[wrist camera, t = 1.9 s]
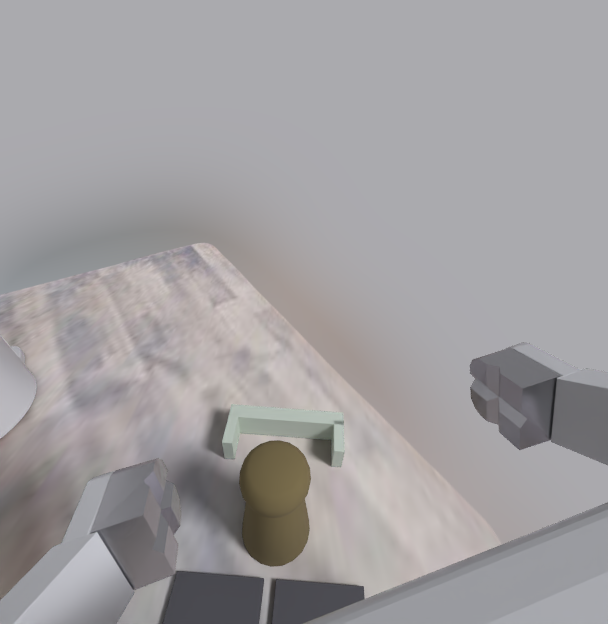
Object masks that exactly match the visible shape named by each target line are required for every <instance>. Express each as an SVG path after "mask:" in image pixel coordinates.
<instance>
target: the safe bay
mask: <svg viewBox="0 0 608 624" xmlns="http://www.w3.org/2000/svg"><path fill="white" fill-rule="evenodd" d="M240 433H245V434H258V435H271V436H285V437H298V438H311V439H324V440H331V467H341V466H342V461H343V457H344V452H345V450H344V421H343V413H342V412H328V411H315V410H301V409H288V408H274V407H260V406H247V405H233V404H232V405H231V409H230V413H229V417H228V421H227V424H226V428H225V432H224V436H223V440H222V446H223V451H224V457H225V458H226V459H235V454H236V450H237V445H238V441H239V436H240Z"/></svg>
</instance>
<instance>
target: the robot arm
mask: <svg viewBox="0 0 608 624" xmlns="http://www.w3.org/2000/svg"><path fill="white" fill-rule="evenodd" d="M470 374H471V375H472V376H473V377H474V378H475V380H474V382H473V384H472V385H471V387H470V388H471V389H470V390H471V399H472V402H473V404H474V407H475V408H476V410H477V411H478V413H479V414H480V415H481V416H482V417H483V418H484V419H485V420H486V421H488V422H492V423H495V424H498V426H499V432H500V433H501V434H502V435H503V436H504V437H505V438H507V440H509V441H510V442H511V443H512V444H513V445H514V446H515V447H517V448H518V449H519V450H522V449H525V448H528V447H531V446H534V445H537V444H540V443H543V442H546V441H549V440H551V442H553V443H555V444H557V445H560V446H562V447H565V448H567V449H570V450H572V451H574V452H577V453H579V454H582V455H584V456H587V457H589V458H592V459H594V460H596V461H599V462H601V463H604V464H606V465H608V372H605V371H599V370H594V369H588V368H586V369H582V370H580V369H578V368H576V367H574V366H572V365H570V364H569V363H567V362H565V361H563V360H561V359H559V358H557V357H555V356H553V355H551V354H549V353H547V352H546V351H544V350H542V349H540V348H538V347H536V346H534V345H532V344H530V343H524V342H523V343H520V344H517V345H514V346H511V347H508V348H506V349H504V350H501V351H498V352H495V353H492V354H489V355H486V356H482V357H480V358H476V359H473V360H472V362H471V364H470ZM36 389H37V384H36V379H35V377H34V375H33V374H32V372H31V371H30V370H29V369H28V368H27V367H26V366H25V354H24V352H23V351H22V350H21V349H20V348H19V347H18V346H9V344H8V343H7V342H6V341H5V340H4V339H3V337H2V336H1V335H0V438H2V437H3V436H4V435H5V434H7V433H8V432H9V431H10V430H11V429H12V428H13V427H14V426H15V425H16V424H17V423H18V422H19V421H20V420H21V419H22V418H23V416H24V415H25V414H26V412H27V411H28V409H29V408H30V406H31V404H32V402H33V400H34V398H35V394H36ZM166 476H167V468H166V466H165V464H164V462H163V460H161V459H159V458H157V459H154V460H150V461H147V462H143V463H140V464H136V465H133V466H129V467H126V468H123V469H119V470H116V471H115V472H110V473H106V474H103V475H100V476H97V477H93V478H92V479H91V480H90V481H88V483H87V485H86V487H85V489H84V492H83V494H82V496H81V499H80V501H79V503H78V506H77V508H76V510H75V512H74V515H73V517H72V519H71V522H70V524H69V526H68V529H67V531H66V533H65V536H64V538H63V540H62V543H61V544H59V545H56V546H53V547H52V548H51V549H50V550H49V551H48V552H47V553H46V554H45V555H44V556H43V557H42V558H41V559H40V560H39V561H38V562H37V563H36V564H35V565H34V566H33V568H32V569H31V570H30V571H29V572H28V573H27V574H26V575H25V576H24V577H23V578H22V579H21V580H20V581H19V582H18V583H17V584H16V585H15V586H14V587H13V588H12V589H11V590H10V591H9V592H8V593H7V594H6V595H5V596H4V597H3V598H2V599H1V600H0V624H117V622H118V620H119V618H120V617H121V615H122V613H123V612H124V610H125V608H126V606H127V605H128V603H129V601H130V600H131V598H132V596H133V594H134V591H133V590H136V589H138V588H141V587H143V586H146V585H148V584H151V583H154V582H156V581H159V580H161V579H164V578H166V577H169V576H171V575H174V574H175V569H176V560H177V551H178V543H177V541H176V539H175V537H174V534H175V533H176V531H177V530H178V528H179V527H180V522H181V507H180V500H179V496H178V492H177V490H176V488H175V485H174V484H173V483H171V482H169V481H167V480H166ZM303 624H608V503H605V504H603V505H600V506H598V507H595V508H593V509H590V510H587V511H585V512H582V513H580V514H577V515H575V516H572V517H570V518H567V519H565V520H562V521H560V522H558V523H555V524H552V525H550V526H548V527H545V528H542V529H540V530H537V531H535V532H532V533H530V534H528V535H525V536H522V537H520V538H517V539H515V540H512V541H510V542H507V543H505V544H502V545H500V546H497V547H495V548H492V549H490V550H487V551H485V552H482V553H480V554H477V555H475V556H472V557H470V558H467V559H465V560H462V561H460V562H457V563H455V564H452V565H450V566H447V567H445V568H442V569H440V570H437V571H434V572H432V573H429V574H427V575H424V576H422V577H419V578H417V579H414V580H412V581H409V582H407V583H404V584H402V585H399V586H397V587H394V588H392V589H389V590H386V591H384V592H381V593H379V594H376V595H374V596H371V597H369V598H366V599H364V600H361V601H359V602H356V603H354V604H351V605H349V606H346V607H344V608H341V609H339V610H336V611H333V612H331V613H328V614H326V615H323V616H321V617H318V618H316V619H313V620H311V621H308V622H306V623H303Z"/></svg>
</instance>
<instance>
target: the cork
mask: <svg viewBox="0 0 608 624" xmlns="http://www.w3.org/2000/svg"><path fill="white" fill-rule="evenodd" d="M310 480H311V476H310V467H309V465H308V463H307V460H306V458H305V456H304V454H303V453H302V452H301V451H300V450H299V449H298V448H297V447H295V446H294V445H292V444H290V443H288V442H283V441H268V442H265V443H262V444H260V445H258V446H257V447H255V448H254V449H253V450H251V452H250V453H249V454H248V455H247V457H246V458H245V460H244V462H243V465H242V468H241V470H240V479H239V484H240V489H241V492H242V496H243V498H244V500H245V501H246V506H245V512H244V518H243V526H242V537H243V541H244V545H245V547H246V549H247V550H248V552H249V554H250V555H251V557H253V558H254V559H255V560H257V561H258V562H259V563H261V564H264V565H268V566H283V565H285V564H287V563H289V562H291V561H293V560H294V559H295V558H296V557H297V556H298V555H299V554H300V553H301V552H302V551H303V549H304V547H305V545H306V543H307V540H308V535H309V518H308V513H307V508H306V503H305V497H306V495H307V494H308V490H309V485H310Z"/></svg>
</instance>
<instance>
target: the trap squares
mask: <svg viewBox="0 0 608 624" xmlns="http://www.w3.org/2000/svg"><path fill="white" fill-rule="evenodd" d="M263 585H264V578H254V577H242V576H230V575H218V574H205V573H193V572H181V571H177V574H176V578H175V582H174V585H173V589H172V592H171V596H170V600H169V603H168V607H167V610H166V614H165V618H164V621H163V624H259V619H260V610H261V602H262V593H263ZM361 600H364V586H352V585H340V584H327V583H315V582H303V581H291V580H279V579H276V588H275V598H274V608H273V619H272V624H303V623H306V622H308V621H311V620H313V619H316V618H318V617H321V616H323V615H326V614H328V613H331V612H333V611H336V610H339V609H341V608H344V607H346V606H349V605H351V604H354V603H356V602H359V601H361Z"/></svg>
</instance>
